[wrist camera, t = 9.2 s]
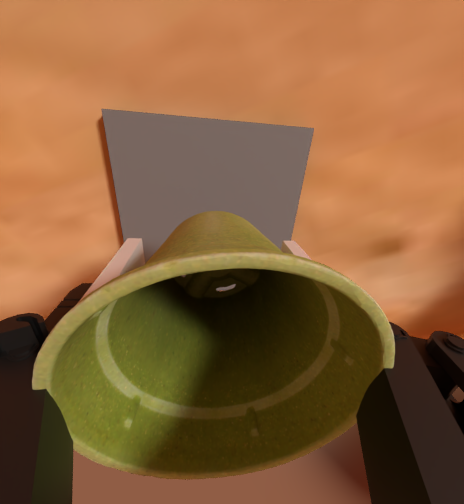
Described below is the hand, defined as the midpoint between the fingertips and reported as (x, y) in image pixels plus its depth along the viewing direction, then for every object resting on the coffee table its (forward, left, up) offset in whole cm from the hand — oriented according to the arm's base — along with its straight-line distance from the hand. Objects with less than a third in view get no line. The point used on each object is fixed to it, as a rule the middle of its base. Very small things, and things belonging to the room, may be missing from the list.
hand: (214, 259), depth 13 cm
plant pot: (0, 0, -1) cm, 1 cm away
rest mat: (0, 0, -9) cm, 9 cm away
